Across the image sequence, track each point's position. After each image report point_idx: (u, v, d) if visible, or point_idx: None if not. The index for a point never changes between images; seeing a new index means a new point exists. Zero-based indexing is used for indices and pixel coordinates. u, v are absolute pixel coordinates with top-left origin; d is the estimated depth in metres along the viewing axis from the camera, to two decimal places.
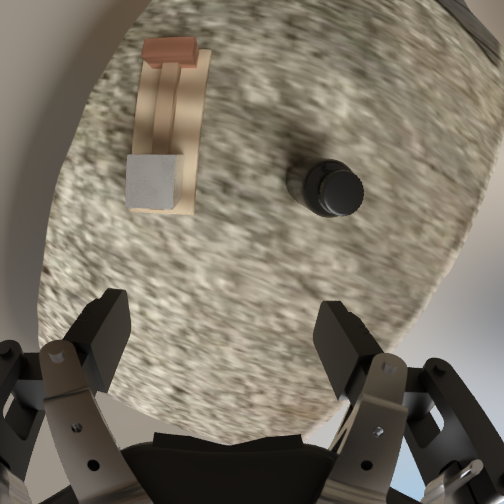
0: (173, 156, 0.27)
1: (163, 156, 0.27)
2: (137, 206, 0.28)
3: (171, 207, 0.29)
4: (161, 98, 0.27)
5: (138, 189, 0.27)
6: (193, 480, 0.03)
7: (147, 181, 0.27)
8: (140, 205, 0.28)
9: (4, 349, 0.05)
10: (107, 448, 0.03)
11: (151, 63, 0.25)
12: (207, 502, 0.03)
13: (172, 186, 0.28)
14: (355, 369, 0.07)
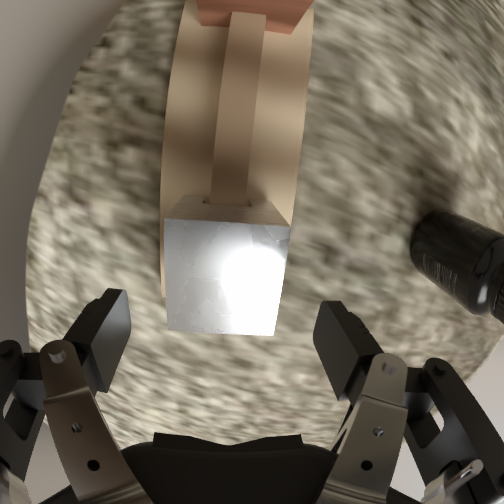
0: (285, 230, 0.12)
1: (260, 228, 0.12)
2: (195, 329, 0.14)
3: (270, 331, 0.14)
4: (231, 81, 0.13)
5: (196, 297, 0.13)
6: (193, 480, 0.03)
7: (219, 282, 0.13)
8: (202, 328, 0.14)
9: (4, 349, 0.05)
10: (107, 448, 0.03)
11: (206, 10, 0.11)
12: (207, 502, 0.03)
13: (277, 294, 0.13)
14: (355, 369, 0.07)
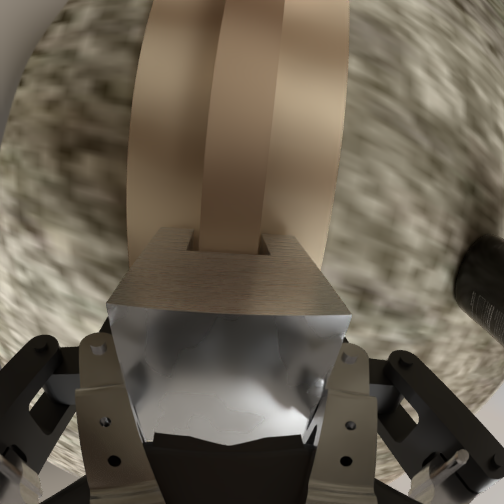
0: (341, 320, 0.06)
1: (296, 321, 0.06)
2: None
3: None
4: (235, 42, 0.07)
5: (181, 413, 0.07)
6: (193, 480, 0.03)
7: (218, 399, 0.07)
8: None
9: (40, 344, 0.05)
10: (133, 446, 0.03)
11: None
12: (207, 502, 0.03)
13: (313, 404, 0.07)
14: None
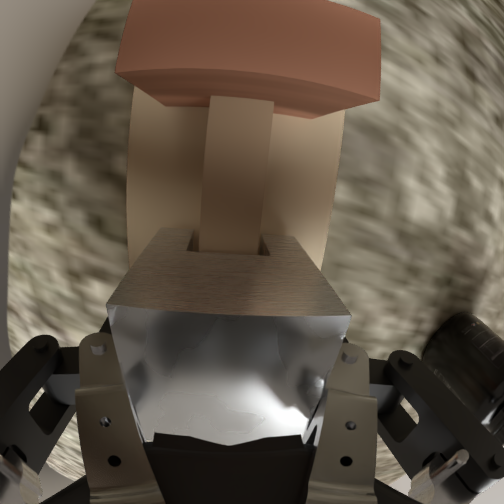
0: (340, 321, 0.06)
1: (295, 322, 0.06)
2: None
3: None
4: (215, 245, 0.09)
5: (181, 414, 0.07)
6: (193, 480, 0.03)
7: (218, 399, 0.07)
8: None
9: (39, 344, 0.05)
10: (132, 446, 0.03)
11: (164, 95, 0.07)
12: (207, 502, 0.03)
13: (312, 405, 0.07)
14: None
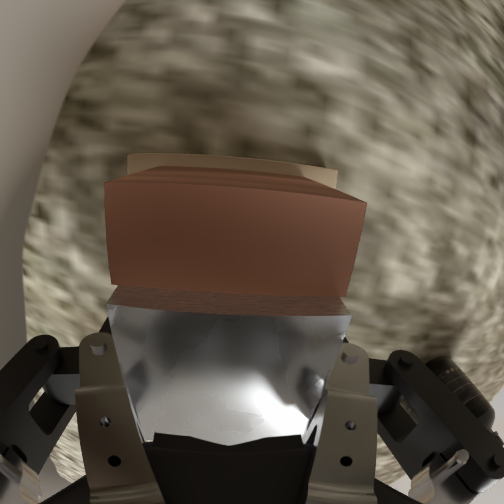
0: (341, 321, 0.06)
1: (296, 322, 0.06)
2: None
3: None
4: None
5: (181, 414, 0.07)
6: (193, 480, 0.03)
7: (218, 399, 0.07)
8: None
9: (39, 344, 0.05)
10: (132, 446, 0.03)
11: None
12: (207, 502, 0.03)
13: (313, 405, 0.07)
14: None
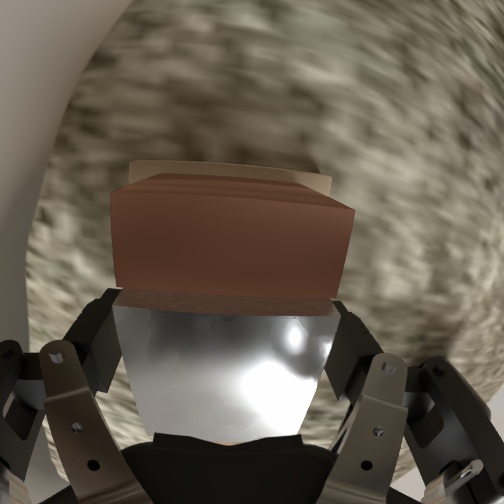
0: (330, 321, 0.06)
1: (288, 322, 0.06)
2: None
3: None
4: None
5: (181, 409, 0.07)
6: (193, 480, 0.03)
7: (216, 394, 0.07)
8: None
9: (4, 349, 0.05)
10: (107, 448, 0.03)
11: None
12: (207, 502, 0.03)
13: (306, 401, 0.08)
14: (355, 369, 0.07)
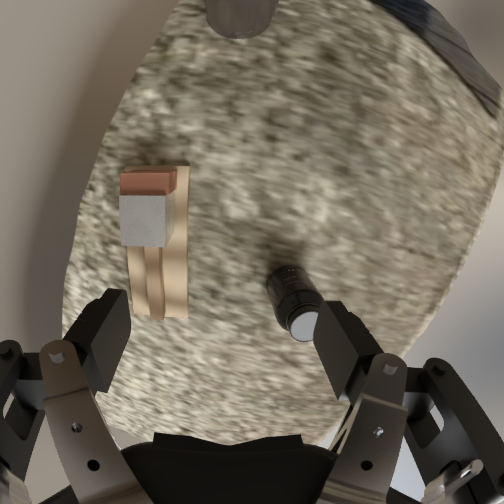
0: (163, 197, 0.28)
1: (153, 197, 0.28)
2: (132, 244, 0.30)
3: (164, 245, 0.30)
4: None
5: (131, 228, 0.29)
6: (193, 480, 0.03)
7: (140, 220, 0.29)
8: (135, 243, 0.30)
9: (4, 349, 0.05)
10: (107, 448, 0.03)
11: None
12: (207, 502, 0.03)
13: (163, 225, 0.30)
14: (355, 369, 0.07)
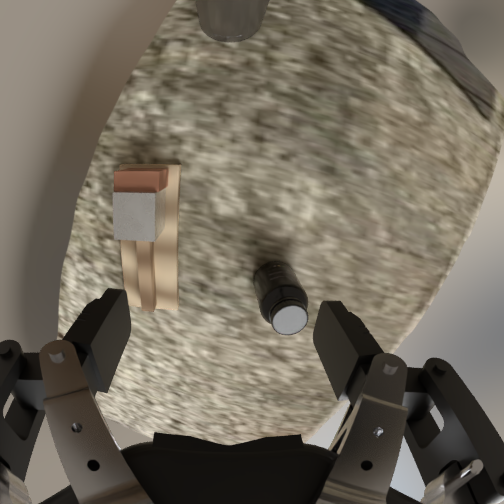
0: (153, 194, 0.30)
1: (144, 194, 0.30)
2: (124, 238, 0.31)
3: (153, 239, 0.32)
4: None
5: (124, 223, 0.31)
6: (193, 480, 0.03)
7: (131, 216, 0.31)
8: (126, 237, 0.31)
9: (4, 349, 0.05)
10: (107, 448, 0.03)
11: None
12: (207, 502, 0.03)
13: (153, 221, 0.31)
14: (355, 369, 0.07)
